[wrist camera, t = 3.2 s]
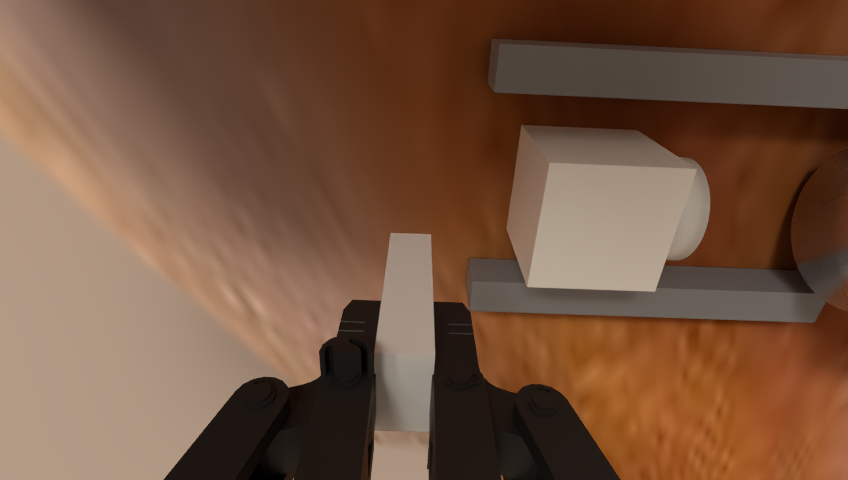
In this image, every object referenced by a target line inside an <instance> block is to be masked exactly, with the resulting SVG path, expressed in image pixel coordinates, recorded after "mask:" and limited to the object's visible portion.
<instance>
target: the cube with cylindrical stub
mask: <svg viewBox="0 0 848 480" xmlns="http://www.w3.org/2000/svg"><path fill="white" fill-rule="evenodd" d="M709 213H710V191H709V186H708V181H707V178H706V176H705V173H704V171H703V170H702V168H701V167H700V165H699V164H698V163H697V162H696V161H694V160H692V159H690V158H686V157H678V156H676V155H675V154H673V153H672V152H670V151H669V150H667V149H665V148H664V147H662V146H661V145H659V144H658V143H656V142H655V141H653V140H651V139H650V138H648V137H647V136H645V135H644V134H642V133H641V132H639V131H638V130H625V129H602V128H580V127H557V126H535V125H521V132H520V139H519V146H518V152H517V159H516V166H515V173H514V180H513V187H512V194H511V200H510V207H509V214H508V221H507V228H506V229H507V232H508V235H509V238H510V241H511V243H512V246H513V249H514V252H515V255H516V257H517V260H518V263H519V266H520V269H521V272H522V274H523V277H524V280H525V283H526V286H527V287H537V288H565V289H594V290H622V291H650V292H655V290H656V287H657V285H658V282H659V279H660V276H661V273H662V270H663V267H664V264H665V261H666V260H682V259H684V258H686V257H688V256H689V255H691V254H692V253H693V252H694V251H695V250H696V248H697V247H698V245H699V244H700V242H701V240H702V238H703V236H704V234H705V231H706V228H707V224H708V220H709Z"/></svg>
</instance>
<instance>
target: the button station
mask: <svg viewBox="0 0 848 480" xmlns="http://www.w3.org/2000/svg"><path fill="white" fill-rule="evenodd" d="M791 245H792V251H793V255H794V259H795V262H796V264H797V267H798V269H799V271H800V273H801V275H802V277H803V278H804V280H805V281H806V283H807V284H808V286H809V287H810V288H811V289H812V290H813V291H814V292H815V293H816V294H817V295H818V296H819V297H820V298H822V299H823V300H824V301H826V302H827V303H829V304H830V305H832V306H834V307H836V308H838V309H840V310H843V311H846V312H848V149H846V150H843V151H841V152H839V153H838V154H836V155H834V156H833V157H831V158H830V159H829V160H827V161H826V162H825V163H824V164H822V165H821V166H820V167H819V168H818V169H817V170H816V171H815V173H814V174H813V175H812V176H811V177H810V178H809V180H808V181H807V183H806V184H805V186H804V188H803V189H802V191H801V193H800V195H799V197H798V200H797V202H796V205H795V209H794V212H793V217H792V222H791Z"/></svg>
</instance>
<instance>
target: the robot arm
mask: <svg viewBox="0 0 848 480" xmlns="http://www.w3.org/2000/svg"><path fill="white" fill-rule="evenodd" d="M319 356H320V369H321V376H320V377H319V378H318V379H316V380H314V381H312V382H310V383H306V384H303V385H299V386H294V387H290V388H288V387H287V385H286V384H285V383H284V382H283V381H282V380H279V379H277V378H275V377H262V378H256V379H253V380H251V381H249V382H247V383H244V384H243V385H242V386H241V387H240V388H239V389H237V390H236V391H235V392H234V394H233V395H232V396H231V397H230V398H229V400H228V401H227V402H226V404H225V405H224V406H223V407H222V408H221V410H220V411H219V412H218V413H217V415H216V416H215V417H214V418H213V420H212V421H211V422H210V423H209V424H208V426H207V427H206V428H205V429H204V431H203V432H202V433H201V434H200V435H199V437H198V438H197V439H196V441H195V442H194V443H193V444H192V445H191V447H190V448H189V449H188V450H187V452H186V453H185V454H184V455H183V456H182V458H181V459H180V460H179V461H178V463H177V464H176V465H175V466H174V468H173V469H172V470H171V471H170V472H169V474H168V475H167V476H166V478H165V479H164V480H293V478H294V480H370V479H371V469H372V461H373V451H374V428H375V430H377V431H410V432H430V436H429V450H428V464H427V469H429V480H501V476H500V475H503V479H504V480H620V478H619V477H618V475H617V474H616V472H615V471H614V469H613V468H612V466H611V465H610V463H609V462H608V460H607V459H606V457H605V456H604V454H603V453H602V451H601V450H600V448H599V447H598V445H597V444H596V442H595V441H594V439H593V438H592V436H591V435H590V433H589V432H588V430H587V429H586V427H585V426H584V424H583V423H582V421H581V420H580V418H579V417H578V415H577V414H576V412H575V411H574V409H573V408H572V406H571V405H570V403H569V402H568V400H567V399H566V398H565V397H564V396H563V395H562V394H561V393H560V392H558V391H557V390H555V389H553V388H551V387H548V386H545V385H541V384H531V385H528V386H525V387H522V388H521V389H520V390H519V391H518V392H517V394H516V393H512V392H509V391H505V390H502V389H500V388H497V387H495V386H494V385H492V384H490V383H489V382H488V381H487V380H486V379H485V378H484V377H483V375H482V373H481V372H480V370H479V366H478V359H477V353H476V346H475V340H474V335H473V327H472V320H471V313H470V312H469V310H468V309H467V308H466V307H465V305H464V304H463V303H455V302H433V277H432V249H431V234H409V233H391V234H390V241H389V249H388V256H387V263H386V270H385V278H384V285H383V292H382V299H381V301H370V300H352V301H351V302H350V303H349V304H348V305H347V306H346V307H345V308H344V310H343V314H342V318H341V322H340V326H339V331H338V334H337V337H334V338H332V339H330V340H328V341H327V342H326V343H324V344H323V345H322V347H321V349H320V351H319Z"/></svg>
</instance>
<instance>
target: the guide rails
mask: <svg viewBox="0 0 848 480" xmlns="http://www.w3.org/2000/svg"><path fill="white" fill-rule="evenodd" d="M487 83H488V84H489V86H490V87H491V89H492V90H493V91H494V93H515V94H537V95H558V96H580V97H601V98H623V99H644V100H666V101H687V102H709V103H730V104H752V105H773V106H795V107H816V108H838V109H848V56H837V55H816V54H796V53H776V52H756V51H736V50H715V49H695V48H675V47H655V46H635V45H614V44H594V43H574V42H554V41H533V40H513V39H493V38H492V42H491V52H490V61H489V71H488V80H487ZM466 292H467V299H468V305H469V311H488V312H517V313H546V314H575V315H604V316H633V317H662V318H691V319H720V320H749V321H778V322H807V323H815V321H816V319H817V317H818V315H819V314H820V312H821V310H822V308H823V307H824V305H825V303H826V301H824V300H823V299H822V298H820V297H819V296H818V295H817V294H816V293H815V292H814V291H813V290H812V289H811V288H810V287H809V286H808V284H807V283H806V281H805V280H804V278H803V277H802V275H801V273H800V271H798V270H776V269H749V268H722V267H695V266H669V265H664V267H663V270H662V273H661V276H660V279H659V282H658V285H657V287H656V290H655V292H650V291H622V290H594V289H565V288H537V287H527V286H526V283H525V280H524V277H523V274H522V272H521V269H520V266H519V263H518V260H508V259H482V258H469V259H468V268H467V278H466Z"/></svg>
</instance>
